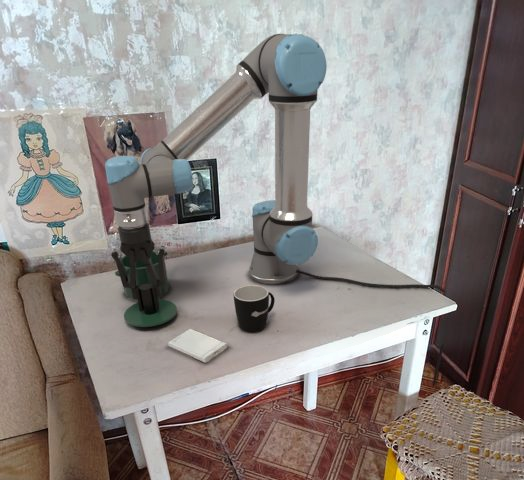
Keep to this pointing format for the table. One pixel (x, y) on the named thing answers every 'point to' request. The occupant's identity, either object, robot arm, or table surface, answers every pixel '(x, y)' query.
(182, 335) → the hard drive
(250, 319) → the mug
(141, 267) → the pot
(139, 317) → the lid
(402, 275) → the table surface
